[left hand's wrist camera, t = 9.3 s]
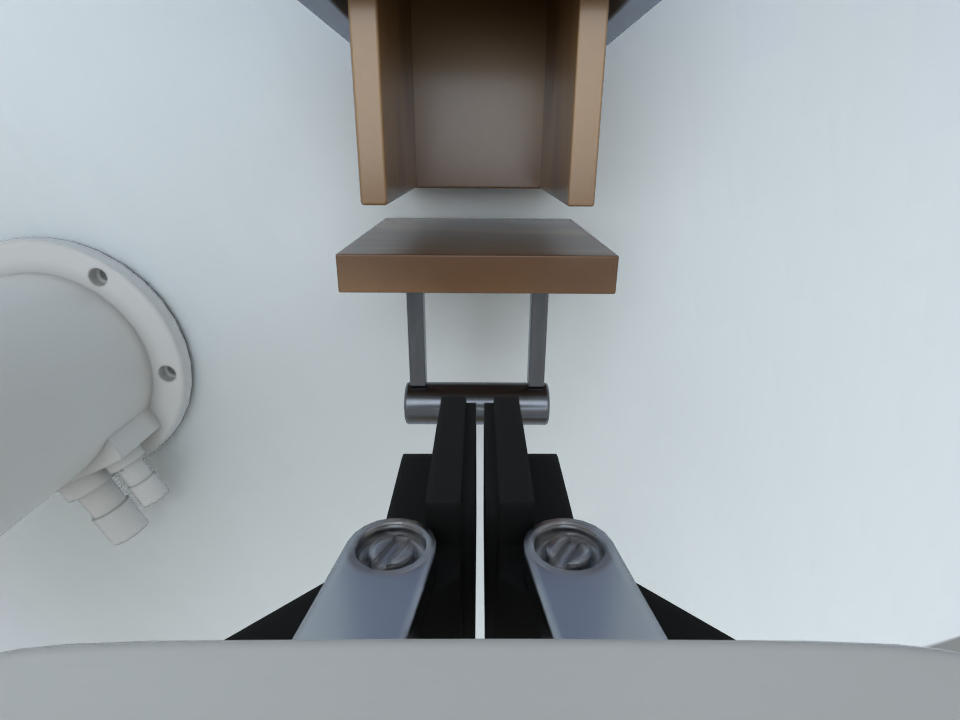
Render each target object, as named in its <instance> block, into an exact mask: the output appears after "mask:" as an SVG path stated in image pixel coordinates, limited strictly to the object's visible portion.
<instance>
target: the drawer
mask: <svg viewBox="0 0 960 720" xmlns="http://www.w3.org/2000/svg"><path fill="white" fill-rule="evenodd" d="M347 2H348V16H349V31H350V46H351V61H352V76H353V91H354V106H355V121H356V136H357V151H358V166H359V180H360V195H361V203H362V204H363V205H386V204H388V203H390V202H392V201H393V200H395V199H397V198H399V197H400V196H402V195H404V194H405V193H407V192H409V191H411V190H412V189H414V188H541V189H543V190H544V191H546V192H547V193H549V194H551V195H552V196H554V197H555V198H557V199H558V200H560V201H561V202H563V203H565V204H566V205H568V206H593V205H594V199H595V185H596V172H597V158H598V145H599V132H600V118H601V105H602V92H603V78H604V65H605V52H606V38H607V25H608V12H609V0H347ZM618 259H619V257H618V255H616V254H615V253H614V252H612V251H611V250H610V249H609V248H607V247H606V246H605V245H603V244H602V243H601V242H599V241H598V240H597V239H596V238H594V237H593V236H592V235H590V234H589V233H588V232H587V231H585V230H584V229H583V228H581V227H580V226H579V225H577V224H576V223H575V222H574V221H572V220H571V219H453V218H386V219H384V220H383V221H382V222H380V223H379V224H377V225H376V226H375V227H373V228H372V229H371V230H369V231H368V232H366V233H365V234H364V235H362V236H361V237H359V238H358V239H357V240H355V241H354V242H353V243H351V244H350V245H348V246H347V247H346V248H344V249H343V250H341V251H340V252H339V253H337V254H336V264H337V276H338V288H339V292H378V293H407V317H408V341H409V365H410V382H408V383H407V385H406V388H405V398H404V412H405V420H406V423H408V424H437V422H438V415H439V409H440V403H441V397H442V396H466V400H467V403H476V424H484V403H493V400H494V396H518V397H519V403H520V409H521V415H522V422H523V425H546V424H547V423H548V420H549V408H550V400H549V388H548V385H547V384H546V383H544V372H545V352H546V332H547V312H548V293H551V294H614V293H615V291H616V280H617V270H618ZM425 293H530V319H529V345H528V371H527V382H528V383H496V382H427V358H426V325H425Z"/></svg>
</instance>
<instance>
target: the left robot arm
mask: <svg viewBox="0 0 960 720" xmlns="http://www.w3.org/2000/svg"><path fill="white" fill-rule="evenodd" d="M191 388H192V374H191V362H190V358H189V354H188V350H187V346H186V342H185V340H184V338H183V335H182V333H181V331H180V329H179V327H178V325H177V322H176V320H175V319H174V317H173V316H172V314H171V313H170V311H169V310H168V309H167V307H166V306H165V304H164V303H163V301H162V300H161V299H160V298H159V297H158V295H157V294H156V293H155V292H154V291H153V290H152V289H151V288H150V287H149V286H148V285H147V284H146V283H145V282H144V281H143V280H142V279H141V278H139V277H138V276H137V275H136V274H134V273H133V272H132V271H130V270H129V269H128V268H126V267H125V266H124V265H123V264H121V263H119V262H117V261H116V260H114V259H112V258H110V257H108V256H106V255H105V254H103V253H101V252H99V251H97V250H94V249H92V248H89V247H86V246H83V245H80V244H78V243H75V242H71V241H66V240H60V239H54V238H48V237H27V238H18V239H12V240H6V241H0V536H1V535H2V534H4V533H5V532H6V531H7V530H9V529H10V528H11V527H12V526H14V525H15V524H16V523H17V522H19V521H20V520H21V519H22V518H24V517H25V516H26V515H27V514H29V513H30V512H31V511H32V510H34V509H35V508H36V507H37V506H39V505H40V504H41V503H42V502H44V501H45V500H46V499H47V498H49V497H50V496H51V495H52V494H54V493H55V492H56V491H59V493H60V494H61V495H62V496H63V497H64V498H65V500H66V501H67V502H73V501H76V500H79V501H80V503H81V504H82V505H83V506H84V507H85V508H86V510H87V511H88V512H89V513H90V514H91V516H92V517H93V519H92V521H93V522H94V523H95V524H96V525H97V527H98V528H99V529H100V530H101V531H102V532H103V534H104V535H105V536H106V537H107V538H108V539H109V541H110V542H111V543H112V544H113V545H119V544H121V543H123V542H125V541H127V540H129V539H130V538H132V537H133V536H135V535H136V534H137V533H139V532H140V531H141V530H142V529H143V528H144V527H145V526H146V525H147V523H148V522H149V521H148V519H147V518H146V517H145V515H144V514H143V513H142V512H141V510H140V509H139V508H138V507H137V506H136V504H135V503H134V502H133V501H132V499H131V498H130V497H129V496H128V495H127V496H126V495H125V494H124V493H123V492H122V491H121V489H120V488H119V487H118V486H117V484H116V483H115V482H114V481H113V479H112V477H113V476H114V475H115V474H116V473H117V472H118V473H119V475H120V476H121V477H122V478H123V480H124V481H125V482H126V483H127V484H128V486H129V487H128V488H129V489H130V491H131V492H132V493H133V494H134V496H135V497H136V498H137V499H138V500H139V502H140V503H141V504H142V505H143V507H147V506H149V505H151V504H153V503H155V502H156V501H158V500H159V499H161V498H162V497H163V496H164V495H165V494H167V492H168V491H169V490H168V488H167V487H166V486H165V485H164V483H163V482H162V481H161V479H160V478H159V477H158V476H157V474H156V473H155V472H154V471H152V470H151V469H150V468H149V466H148V465H147V464H146V463H145V461H144V460H143V458H144V457H146V456H147V455H149V454H150V453H152V452H153V451H155V450H156V449H157V448H158V447H159V446H160V445H162V444H163V443H164V442H165V441H166V440H167V439H168V438H169V437H170V436H171V435H172V433H173V432H174V431H175V429H176V428H177V427H178V425H179V424H180V423H181V421H182V419H183V417H184V414H185V412H186V409H187V407H188V404H189V400H190V394H191ZM475 604H476V403H467V400H466V396H442V397H441V403H440V409H439V415H438V422H437V428H436V434H435V441H434V447H433V453H432V454H403V457H402V460H401V464H400V468H399V472H398V476H397V480H396V484H395V488H394V491H393V495H392V499H391V503H390V507H389V511H388V515H387V519H384V520H379V521H376V522H373V523H371V524H368V525H366V526H364V527H363V528H361V529H360V530H358V531H357V532H355V533H354V534H353V536H352V537H351V538H350V539H349V541H348V542H347V544H346V545H345V547H344V549H343V551H342V553H341V554H340V556H339V558H338V560H337V561H336V563H335V565H334V567H333V568H332V570H331V572H330V574H329V575H328V577H327V579H326V581H325V582H324V583H323V584H321V585H319V586H318V587H316V588H314V589H312V590H311V591H309V592H307V593H305V594H304V595H302V596H300V597H298V598H297V599H295V600H293V601H291V602H290V603H288V604H286V605H284V606H283V607H281V608H279V609H278V610H276V611H274V612H272V613H271V614H269V615H267V616H265V617H264V618H262V619H260V620H258V621H257V622H255V623H253V624H251V625H250V626H248V627H246V628H244V629H243V630H241V631H239V632H237V633H236V634H234V635H232V636H230V637H229V638H227V639H225V640H200V641H136V642H109V643H82V644H62V645H53V646H43V647H33V648H23V649H17V650H11V651H6V652H1V653H0V720H960V653H959V652H954V651H948V650H943V649H936V648H927V647H917V646H907V645H898V644H878V643H851V642H825V641H762V640H735V639H733V638H731V637H730V636H728V635H726V634H724V633H723V632H721V631H719V630H717V629H716V628H714V627H712V626H710V625H709V624H707V623H705V622H703V621H702V620H700V619H698V618H696V617H695V616H693V615H691V614H689V613H688V612H686V611H684V610H682V609H681V608H679V607H677V606H676V605H674V604H672V603H670V602H669V601H667V600H665V599H663V598H662V597H660V596H658V595H656V594H655V593H653V592H651V591H649V590H648V589H646V588H644V587H642V586H641V585H639V584H637V583H636V582H635V581H634V579H633V577H632V575H631V574H630V572H629V570H628V568H627V567H626V565H625V563H624V561H623V560H622V558H621V556H620V554H619V553H618V551H617V549H616V547H615V545H614V544H613V542H612V541H611V539H610V538H609V537H608V536H607V534H606V533H605V532H603V531H602V530H600V529H599V528H597V527H596V526H594V525H592V524H589V523H587V522H584V521H581V520H576V519H573V515H572V511H571V507H570V503H569V499H568V495H567V491H566V488H565V484H564V480H563V476H562V472H561V468H560V464H559V460H558V457H557V454H528V453H527V447H526V441H525V434H524V428H523V422H522V415H521V409H520V403H519V397H518V396H494V400H493V403H484V604H485V639H475Z"/></svg>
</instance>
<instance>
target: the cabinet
mask: <svg viewBox="0 0 960 720" xmlns="http://www.w3.org/2000/svg"><path fill="white" fill-rule="evenodd" d="M298 1H299V2H300V3H302V4H303V5H304V6H305V7H307V8H308V9H309V10H310V11H311V12H313V13H314V14H315V15H316V16H318V17H319V18H320V19H321V20H323V21H324V22H325V23H326V24H327V25H329V26H330V27H331V28H332V29H334V30H335V31H336V32H337V33H338V34H340V35H341V36H342V37H343V38H345V39H346V40H347V41H348V42H349V43H350V31H349V16H348V2H347V0H298ZM660 1H661V0H609V12H608V25H607V38H606V46H607V45H608V44H609V43H610V42H612V41H613V40H614V39H615V38H616V37H618V36H619V35H620V34H621V33H622V32H624V31H625V30H626V29H627V28H628V27H630V26H631V25H632V24H633V23H635V22H636V21H637V20H638V19H639V18H641V17H642V16H643V15H644V14H645V13H647V12H648V11H649V10H650V9H651V8H653V7H654V6H655V5H656V4H657V3H659V2H660Z"/></svg>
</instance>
